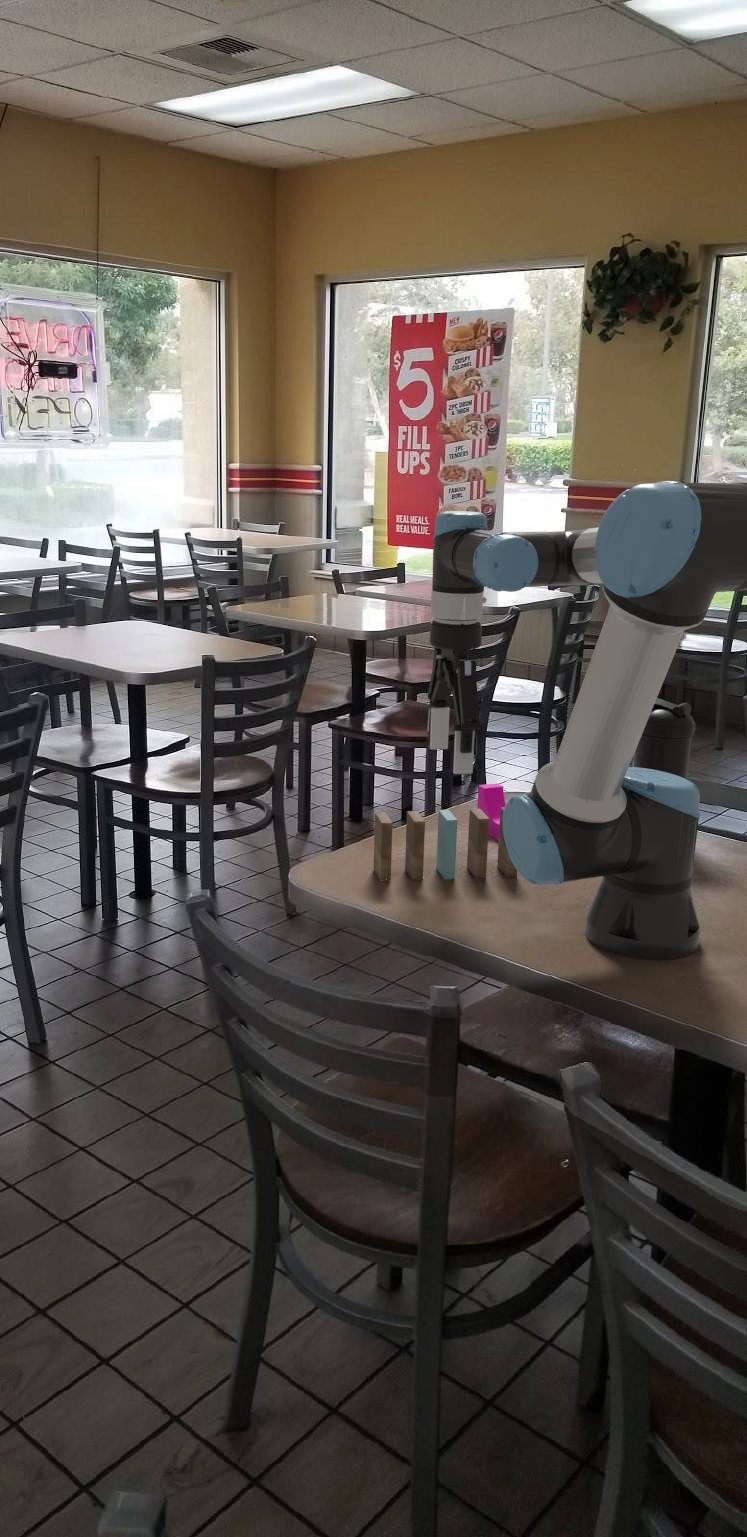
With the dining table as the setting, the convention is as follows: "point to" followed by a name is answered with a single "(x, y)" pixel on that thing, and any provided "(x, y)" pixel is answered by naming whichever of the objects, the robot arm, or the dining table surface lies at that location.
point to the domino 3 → (446, 844)
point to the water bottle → (666, 739)
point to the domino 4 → (477, 843)
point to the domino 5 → (504, 853)
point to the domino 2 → (414, 845)
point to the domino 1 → (382, 846)
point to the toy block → (491, 805)
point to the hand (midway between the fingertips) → (450, 760)
